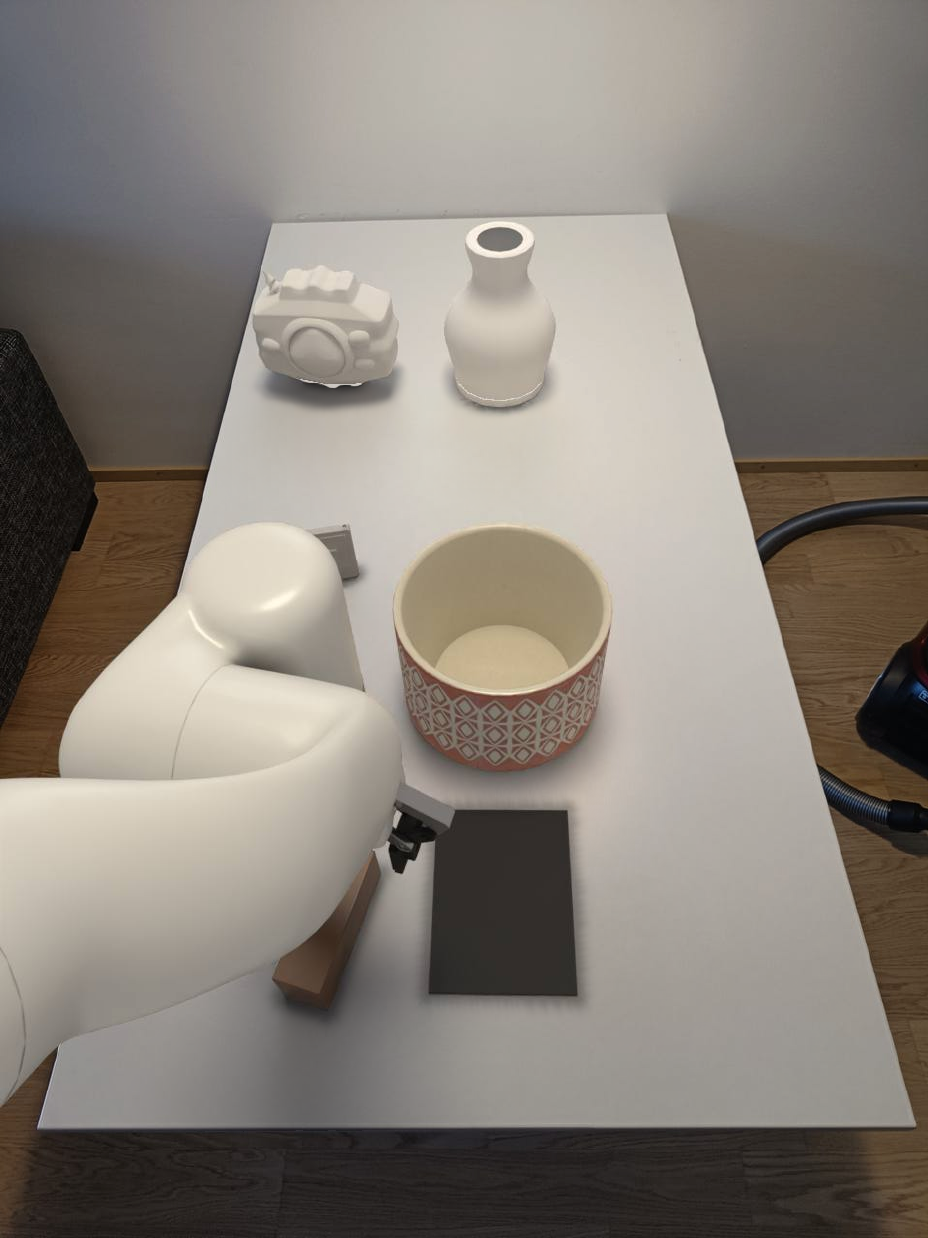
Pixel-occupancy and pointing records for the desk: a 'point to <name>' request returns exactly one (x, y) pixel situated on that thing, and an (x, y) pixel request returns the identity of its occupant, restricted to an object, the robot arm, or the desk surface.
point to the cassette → (339, 548)
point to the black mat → (503, 905)
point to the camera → (325, 327)
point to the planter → (502, 644)
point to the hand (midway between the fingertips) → (342, 835)
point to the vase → (499, 319)
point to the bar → (328, 945)
